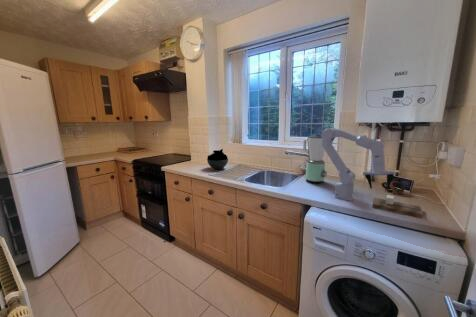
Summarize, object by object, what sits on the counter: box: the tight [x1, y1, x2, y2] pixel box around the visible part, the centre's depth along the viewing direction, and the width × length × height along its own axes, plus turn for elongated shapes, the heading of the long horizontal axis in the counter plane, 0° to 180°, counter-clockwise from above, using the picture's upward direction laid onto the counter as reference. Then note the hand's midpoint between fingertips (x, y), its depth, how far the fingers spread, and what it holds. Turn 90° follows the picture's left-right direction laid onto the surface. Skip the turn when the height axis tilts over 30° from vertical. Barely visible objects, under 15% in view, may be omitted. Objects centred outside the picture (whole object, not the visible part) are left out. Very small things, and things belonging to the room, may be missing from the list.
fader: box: [385, 194, 395, 205], centre depth 106 cm, size 3×5×4 cm, turn 142°
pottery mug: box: [381, 180, 405, 195], centre depth 128 cm, size 12×10×8 cm
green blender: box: [302, 134, 328, 185], centre depth 149 cm, size 19×13×35 cm
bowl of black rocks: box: [206, 148, 229, 170], centre depth 189 cm, size 20×20×19 cm
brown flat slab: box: [371, 197, 424, 219], centre depth 105 cm, size 20×11×2 cm, turn 52°
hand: (379, 188), depth 108 cm, fingers open, 7 cm apart
